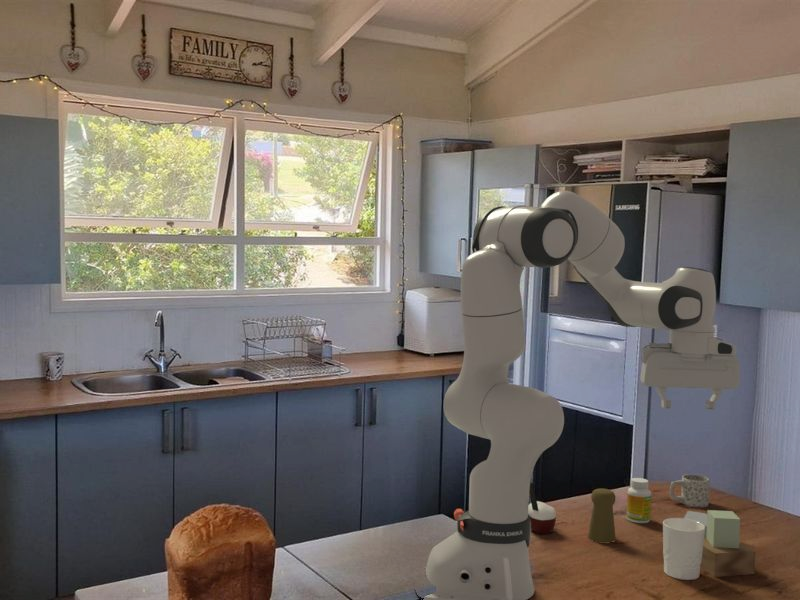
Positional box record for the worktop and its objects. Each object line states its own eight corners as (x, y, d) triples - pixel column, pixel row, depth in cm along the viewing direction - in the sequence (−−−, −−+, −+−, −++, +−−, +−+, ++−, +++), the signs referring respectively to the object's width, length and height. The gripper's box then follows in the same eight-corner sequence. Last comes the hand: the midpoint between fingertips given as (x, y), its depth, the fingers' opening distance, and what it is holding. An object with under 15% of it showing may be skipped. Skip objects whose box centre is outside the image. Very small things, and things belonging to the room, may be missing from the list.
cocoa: (549, 526, 189) (552, 475, 189) (564, 534, 183) (567, 481, 183) (514, 529, 186) (516, 476, 186) (528, 537, 180) (531, 483, 180)
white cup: (662, 563, 167) (664, 515, 166) (703, 569, 164) (705, 521, 164) (659, 577, 160) (661, 527, 159) (702, 584, 157) (704, 533, 156)
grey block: (680, 544, 179) (681, 521, 179) (686, 531, 187) (687, 510, 187) (724, 552, 175) (725, 529, 175) (728, 539, 183) (729, 517, 183)
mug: (701, 499, 212) (702, 474, 211) (713, 507, 205) (714, 481, 205) (664, 499, 211) (665, 474, 211) (674, 507, 204) (675, 481, 204)
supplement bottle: (646, 525, 190) (648, 484, 190) (623, 520, 193) (625, 480, 192) (652, 519, 195) (654, 479, 194) (630, 514, 198) (631, 475, 197)
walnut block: (714, 578, 161) (715, 553, 160) (688, 561, 170) (689, 537, 169) (754, 575, 163) (755, 550, 162) (726, 558, 172) (727, 535, 171)
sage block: (713, 547, 164) (714, 517, 164) (706, 538, 169) (707, 510, 169) (738, 548, 164) (740, 519, 163) (731, 539, 168) (732, 511, 168)
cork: (616, 544, 177) (618, 494, 177) (588, 541, 179) (590, 492, 178) (614, 535, 183) (616, 487, 183) (587, 532, 184) (589, 484, 184)
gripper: (646, 344, 170) (643, 409, 170) (745, 347, 169) (741, 412, 170) (638, 340, 176) (635, 404, 177) (733, 343, 176) (729, 407, 176)
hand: (688, 408), depth 173 cm, fingers open, 8 cm apart
